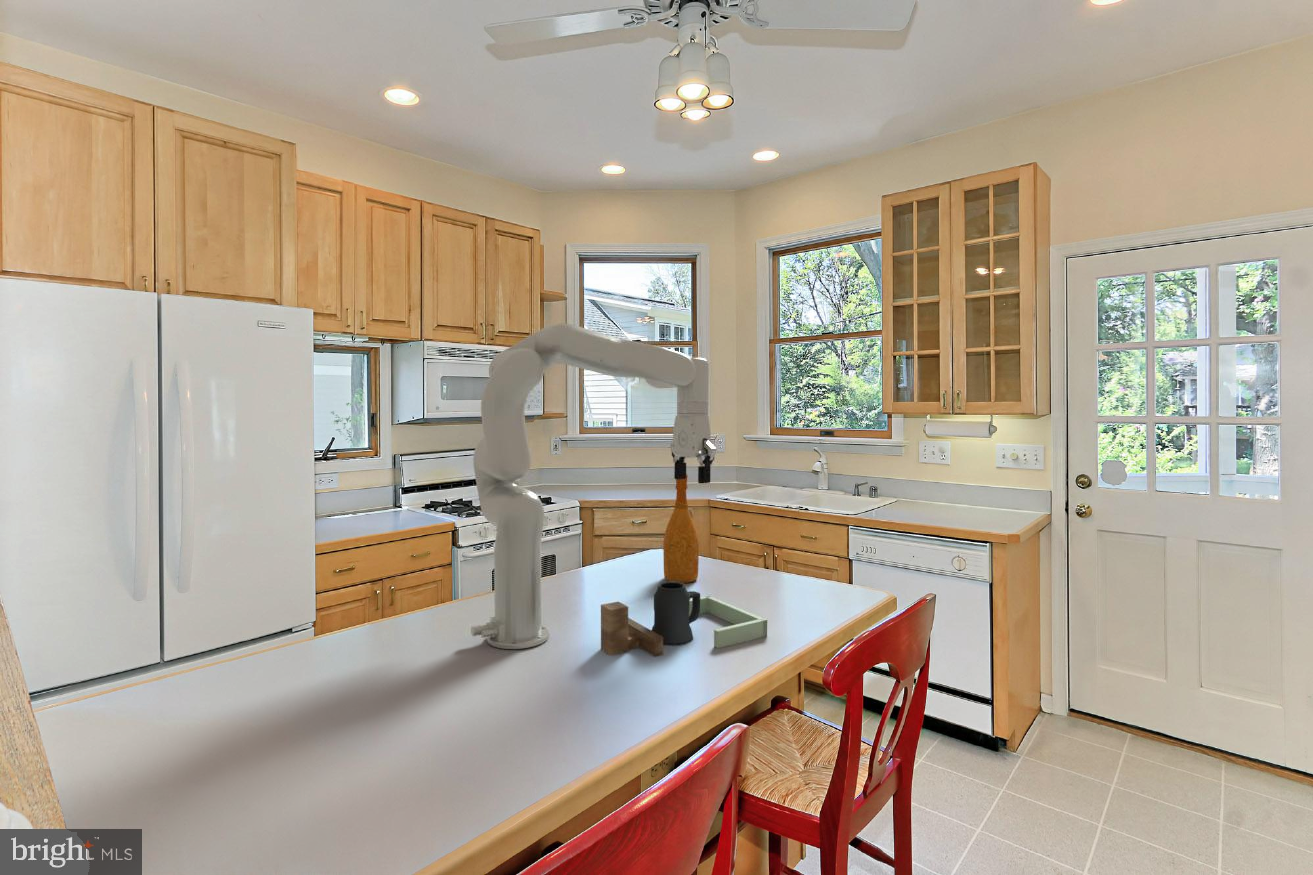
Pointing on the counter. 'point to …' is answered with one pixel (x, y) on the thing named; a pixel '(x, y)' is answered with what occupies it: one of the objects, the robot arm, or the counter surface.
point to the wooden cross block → (626, 632)
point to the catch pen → (744, 622)
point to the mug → (675, 612)
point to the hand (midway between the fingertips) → (691, 480)
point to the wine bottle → (681, 540)
